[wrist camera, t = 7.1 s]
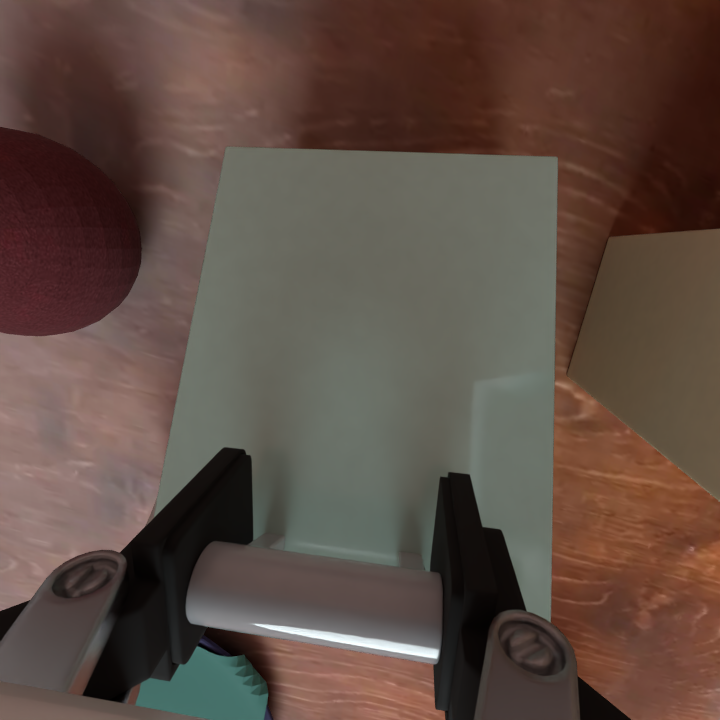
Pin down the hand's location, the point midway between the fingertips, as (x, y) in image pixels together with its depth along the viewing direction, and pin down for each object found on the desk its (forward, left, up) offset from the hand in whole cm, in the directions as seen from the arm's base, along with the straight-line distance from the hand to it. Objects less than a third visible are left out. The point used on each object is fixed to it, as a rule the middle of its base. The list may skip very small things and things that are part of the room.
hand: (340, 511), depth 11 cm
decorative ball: (+11, -16, -15) cm, 25 cm away
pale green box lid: (-2, -2, -4) cm, 5 cm away
